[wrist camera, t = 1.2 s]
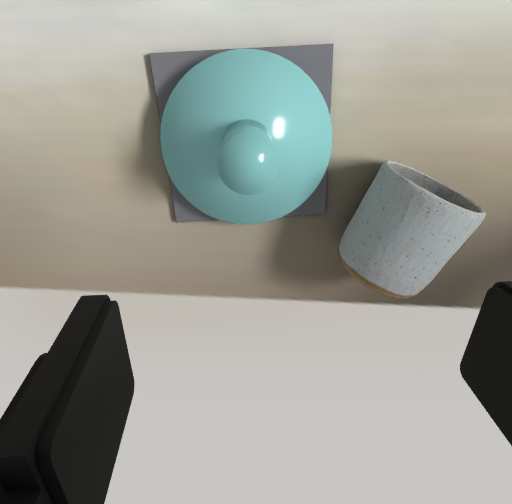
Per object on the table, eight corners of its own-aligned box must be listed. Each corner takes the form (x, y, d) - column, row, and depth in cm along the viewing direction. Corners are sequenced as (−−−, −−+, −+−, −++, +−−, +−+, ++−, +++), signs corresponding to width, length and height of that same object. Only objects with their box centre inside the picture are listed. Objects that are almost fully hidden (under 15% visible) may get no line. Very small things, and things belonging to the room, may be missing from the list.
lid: (333, 44, 24) (360, 42, 19) (325, 214, 30) (344, 250, 25) (149, 53, 24) (123, 54, 19) (176, 222, 30) (162, 260, 24)
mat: (332, 43, 25) (333, 43, 24) (324, 212, 30) (325, 213, 30) (150, 53, 25) (149, 53, 24) (177, 220, 30) (176, 222, 30)
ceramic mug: (322, 240, 32) (346, 292, 25) (370, 149, 28) (413, 182, 21) (426, 275, 34) (473, 331, 27) (482, 195, 30) (552, 237, 24)
